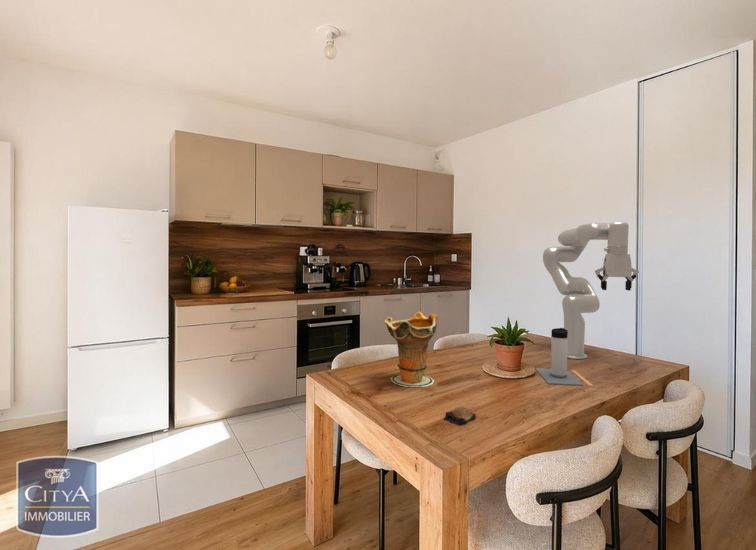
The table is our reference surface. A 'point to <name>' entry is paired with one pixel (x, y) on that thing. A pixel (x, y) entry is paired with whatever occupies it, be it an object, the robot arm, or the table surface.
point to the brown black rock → (460, 416)
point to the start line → (582, 378)
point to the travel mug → (559, 353)
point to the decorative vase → (412, 348)
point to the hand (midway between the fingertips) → (615, 290)
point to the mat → (558, 381)
